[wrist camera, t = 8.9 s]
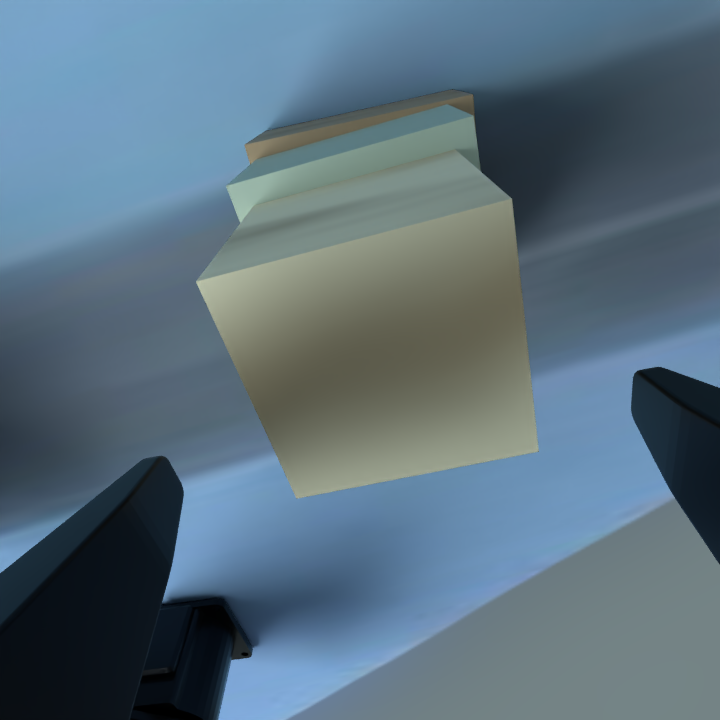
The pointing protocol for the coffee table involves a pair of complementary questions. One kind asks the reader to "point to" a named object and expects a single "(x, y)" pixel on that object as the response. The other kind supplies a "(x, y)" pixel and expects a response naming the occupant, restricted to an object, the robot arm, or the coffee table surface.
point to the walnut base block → (351, 122)
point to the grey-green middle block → (355, 155)
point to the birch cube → (380, 325)
